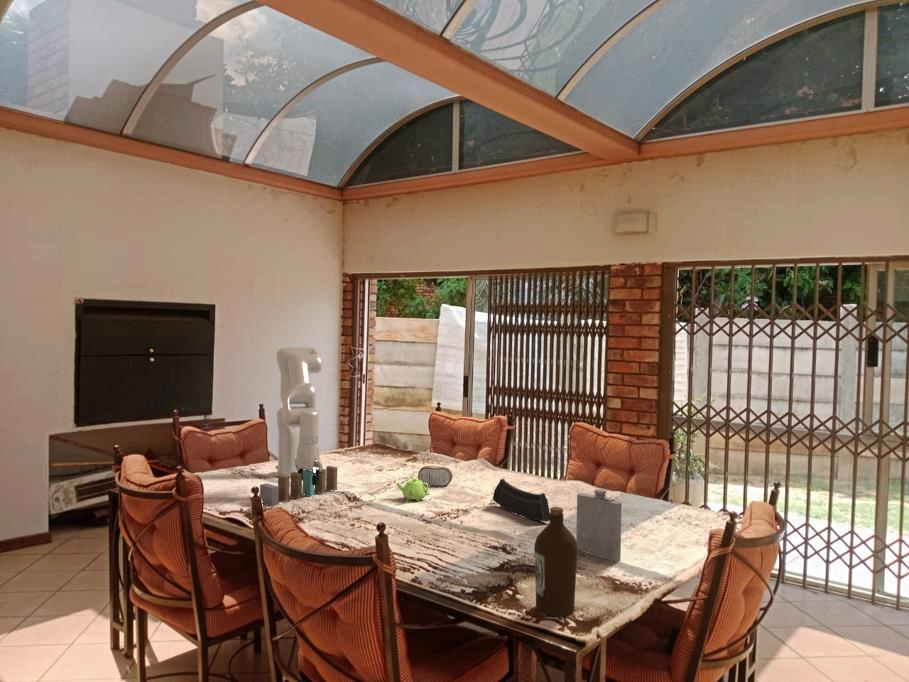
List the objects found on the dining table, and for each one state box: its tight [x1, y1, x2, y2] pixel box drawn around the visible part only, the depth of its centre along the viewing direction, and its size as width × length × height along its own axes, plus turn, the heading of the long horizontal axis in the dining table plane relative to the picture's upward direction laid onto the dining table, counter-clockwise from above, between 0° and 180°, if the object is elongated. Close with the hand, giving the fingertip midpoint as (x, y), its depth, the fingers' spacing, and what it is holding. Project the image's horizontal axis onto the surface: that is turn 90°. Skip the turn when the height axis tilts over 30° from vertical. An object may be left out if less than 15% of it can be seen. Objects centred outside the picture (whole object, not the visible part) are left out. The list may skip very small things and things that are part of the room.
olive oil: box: [533, 506, 579, 617], centre depth 172 cm, size 11×11×25 cm
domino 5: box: [325, 465, 338, 492], centre depth 293 cm, size 2×5×10 cm, turn 49°
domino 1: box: [277, 474, 290, 503], centre depth 275 cm, size 2×5×10 cm, turn 49°
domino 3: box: [302, 469, 315, 497], centre depth 284 cm, size 2×5×10 cm, turn 49°
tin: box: [417, 465, 453, 487], centre depth 305 cm, size 15×3×8 cm, turn 84°
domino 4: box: [314, 468, 327, 494], centre depth 289 cm, size 2×5×10 cm, turn 49°
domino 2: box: [290, 472, 303, 500], centre depth 280 cm, size 2×5×10 cm, turn 49°
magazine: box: [492, 478, 551, 523], centre depth 259 cm, size 17×3×30 cm
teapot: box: [396, 477, 430, 502], centre depth 280 cm, size 11×12×8 cm
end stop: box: [259, 482, 280, 507], centre depth 270 cm, size 8×3×7 cm, turn 49°
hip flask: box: [575, 488, 623, 562], centre depth 215 cm, size 16×4×20 cm, turn 41°
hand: (308, 482), depth 285 cm, fingers open, 9 cm apart
